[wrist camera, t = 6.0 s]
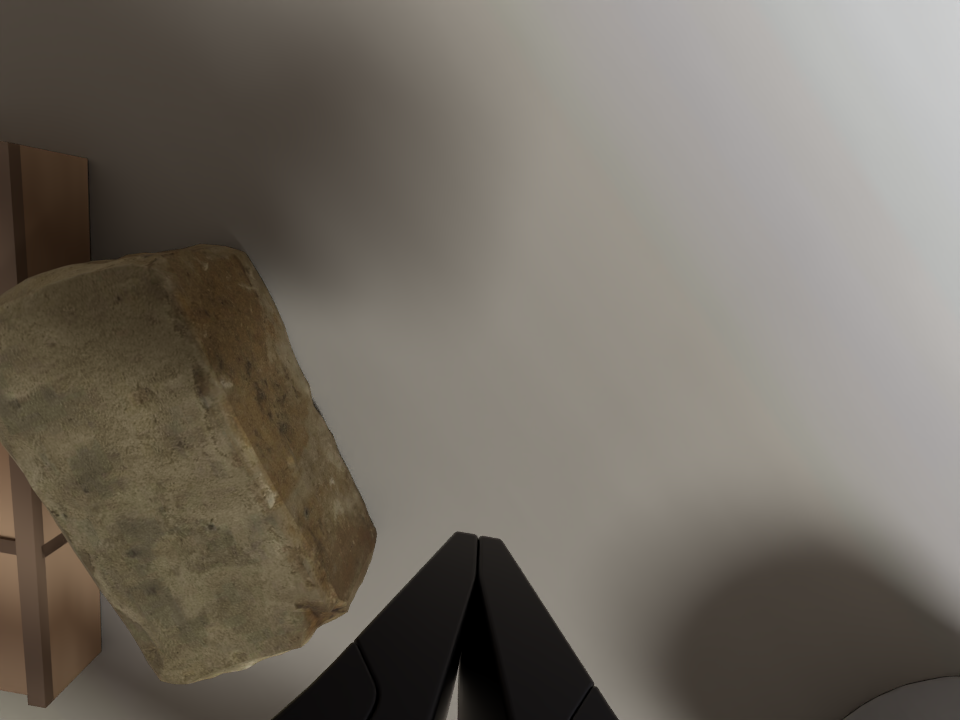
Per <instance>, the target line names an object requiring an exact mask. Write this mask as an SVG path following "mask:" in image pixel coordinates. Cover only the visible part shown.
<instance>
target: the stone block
mask: <svg viewBox="0 0 960 720" xmlns="http://www.w3.org/2000/svg"><path fill="white" fill-rule="evenodd" d="M0 442H1V444H2V445H3V446H4V448H5V449H6V450H7V452H8V453H9V454H10V456H11V457H12V458H13V460H14V461H15V462H16V464H17V465H18V466H19V468H20V469H21V470H22V472H23V473H24V474H25V476H26V478H27V480H28V482H29V483H30V485H31V487H32V489H33V490H34V491H35V493H36V494H37V496H38V497H39V498H40V500H41V501H42V503H43V504H44V505H45V507H46V508H47V510H48V511H49V513H50V515H51V516H52V518H53V519H54V521H55V523H56V524H57V526H58V527H59V529H60V530H61V532H62V534H63V535H64V537H65V538H66V540H67V542H68V543H69V545H70V546H71V548H72V549H73V551H74V552H75V554H76V555H77V557H78V558H79V560H80V561H81V563H82V564H83V566H84V567H85V569H86V570H87V572H88V573H89V575H90V576H91V578H92V579H93V581H94V582H95V584H96V585H97V587H98V588H99V590H100V591H101V592H102V594H103V595H104V596H105V597H106V599H107V600H108V601H109V603H110V604H111V605H112V607H113V608H114V609H115V611H116V612H117V614H118V615H119V617H120V618H121V620H122V621H123V622H124V624H125V625H126V627H127V628H128V630H129V631H130V633H131V634H132V636H133V637H134V639H135V641H136V642H137V644H138V646H139V647H140V649H141V651H142V653H143V655H144V656H145V658H146V660H147V662H148V664H149V665H150V666H151V668H152V669H153V671H154V672H155V674H156V675H157V676H158V678H159V679H160V681H163V682H167V683H171V684H190V683H193V682H197V681H201V680H205V679H210V678H214V677H216V676H218V675H220V674H223V673H228V672H235V671H240V670H245V669H248V668H249V667H251V666H252V665H254V664H256V663H257V662H259V661H261V660H264V659H266V658H269V657H272V656H277V655H281V654H283V653H285V652H288V651H290V650H293V649H297V648H300V647H302V646H303V645H304V644H306V643H307V642H308V641H309V640H310V638H311V637H312V635H313V633H314V632H315V630H316V629H317V628H318V627H320V626H322V625H323V624H325V623H328V622H330V621H332V620H334V619H336V618H338V617H340V616H341V615H343V614H345V613H347V612H348V609H349V606H350V604H351V602H352V600H353V599H354V597H355V594H356V592H357V590H358V588H359V586H360V585H361V583H362V582H363V579H364V577H365V575H366V572H367V569H368V566H369V564H370V562H371V559H372V555H373V551H374V548H375V543H376V537H377V532H376V528H375V527H374V525H373V523H372V522H371V520H370V517H369V514H368V511H367V508H366V506H365V503H364V501H363V499H362V497H361V495H360V493H359V491H358V490H357V488H356V486H355V483H354V481H353V479H352V477H351V475H350V473H349V470H348V469H347V467H346V465H345V463H344V461H343V460H342V458H341V456H340V454H339V451H338V448H337V445H336V442H335V439H334V436H333V435H332V434H331V432H330V431H329V430H328V428H327V426H326V423H325V421H324V420H323V418H322V417H321V415H320V414H319V412H318V411H317V409H316V408H315V406H314V405H313V401H312V396H311V391H310V386H309V383H308V382H307V380H306V379H305V377H304V375H303V373H302V371H301V369H300V367H299V365H298V363H297V360H296V358H295V356H294V353H293V351H292V348H291V345H290V342H289V339H288V336H287V332H286V329H285V326H284V324H283V322H282V319H281V317H280V315H279V312H278V310H277V308H276V306H275V304H274V302H273V300H272V298H271V296H270V294H269V292H268V290H267V288H266V286H265V284H264V283H263V281H262V279H261V278H260V276H259V274H258V273H257V271H256V269H255V268H254V266H253V264H252V263H251V261H250V259H249V258H248V256H247V254H246V253H245V252H243V251H240V250H237V249H234V248H231V247H227V246H219V245H208V244H198V245H194V246H191V247H187V248H184V249H177V250H169V251H163V252H157V253H137V254H129V255H125V256H123V257H121V258H119V259H111V260H97V261H90V262H86V263H79V264H72V265H67V266H63V267H60V268H57V269H53V270H50V271H47V272H44V273H40V274H38V275H35V276H32V277H30V278H27V279H25V280H24V281H22V282H21V283H19V284H17V285H16V286H14V287H13V288H11V289H9V290H8V291H6V292H4V293H3V294H2V295H0Z"/></svg>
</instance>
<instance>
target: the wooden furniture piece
mask: <svg viewBox="0 0 960 720" xmlns="http://www.w3.org/2000/svg"><path fill="white" fill-rule="evenodd" d="M86 262H90V233H89V198H88V163H87V159H86V158H82V157H77V156H72V155H67V154H62V153H58V152H53V151H48V150H43V149H38V148H33V147H29V146H24V145H19V144H14V143H9V142H4V141H0V295H2V294H3V293H4V292H6V291H8V290H9V289H11V288H13V287H14V286H16V285H17V284H19V283H21V282H22V281H24V280H25V279H27V278H30V277H32V276H35V275H38V274H40V273H44V272H47V271H50V270H53V269H57V268H60V267H63V266H67V265H72V264H79V263H86ZM100 652H101V617H100V590H99V588H98V587H97V585H96V584H95V582H94V581H93V579H92V578H91V576H90V575H89V573H88V572H87V570H86V569H85V567H84V566H83V564H82V563H81V561H80V560H79V558H78V557H77V555H76V554H75V552H74V551H73V549H72V548H71V546H70V545H69V543H68V542H67V540H66V538H65V537H64V535H63V534H62V532H61V530H60V529H59V527H58V526H57V524H56V523H55V521H54V519H53V518H52V516H51V515H50V513H49V511H48V510H47V508H46V507H45V505H44V504H43V503H42V501H41V500H40V498H39V497H38V496H37V494H36V493H35V491H34V490H33V489H32V487H31V485H30V483H29V482H28V480H27V478H26V476H25V474H24V473H23V472H22V470H21V469H20V468H19V466H18V465H17V464H16V462H15V461H14V460H13V458H12V457H11V456H10V454H9V453H8V452H7V450H6V449H5V448H4V446H3V445H2V444H1V442H0V690H3V691H8V692H14V693H19V694H25V695H27V696H28V705H32V706H37V707H43V708H46V707H47V706H48V705H49V704H50V703H51V702H52V701H53V700H54V699H55V698H56V697H57V696H58V695H59V694H60V693H61V692H62V691H63V690H64V689H65V688H66V687H67V686H68V685H69V684H70V683H71V682H72V681H73V680H74V679H75V678H76V677H77V676H78V675H79V674H80V673H81V671H82V670H83V669H84V668H85V667H86V666H87V665H88V664H89V663H90V662H91V661H92V660H93V659H94V658H95V657H96V656H97V655H98V654H99V653H100Z"/></svg>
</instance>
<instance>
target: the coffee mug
mask: <svg viewBox="0 0 960 720" xmlns="http://www.w3.org/2000/svg"><path fill="white" fill-rule="evenodd" d="M843 720H960V676H959V677H942V678H937V679H932V680H927V681H922V682H918V683H913V684H909V685H905V686H902V687H899V688H896V689H894V690H892V691H890V692H888V693H885V694H883V695H881V696H879V697H877V698H875V699H873V700H871V701H869V702H867V703H865V704H864V705H862V706H861V707H860V708H858V709H857V710H855V711H854V712H853V713H851V714H850V715H848V716H847V717H846V718H844V719H843Z"/></svg>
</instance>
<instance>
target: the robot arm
mask: <svg viewBox="0 0 960 720" xmlns="http://www.w3.org/2000/svg"><path fill="white" fill-rule="evenodd" d="M459 662H460V663H459ZM458 666H459V675H458V720H619V719H618V718H617V717H616V715H615V714H614V712H613V711H612V709H611V708H610V706H609V705H608V703H607V702H606V700H605V698H604V697H603V695H602V694H601V692H600V691H599V689H598V688H597V687H596V686H594V682H593V680H592V679H591V677H590V676H589V674H588V673H587V671H586V669H585V668H584V666H583V665H582V663H581V662H580V660H579V659H578V657H577V656H576V654H575V652H574V651H573V649H572V648H571V646H570V645H569V643H568V642H567V640H566V639H565V637H564V635H563V634H562V632H561V631H560V629H559V628H558V626H557V625H556V623H555V622H554V620H553V618H552V617H551V615H550V614H549V612H548V611H547V609H546V608H545V606H544V605H543V603H542V601H541V600H540V598H539V597H538V595H537V594H536V592H535V591H534V589H533V588H532V586H531V584H530V583H529V581H528V580H527V578H526V577H525V575H524V574H523V572H522V571H521V569H520V567H519V566H518V564H517V563H516V561H515V560H514V558H513V557H512V555H511V554H510V552H509V550H508V549H507V547H506V546H505V544H504V543H503V541H502V540H500V539H498V538H492V537H486V536H480V537H479V539H478V537H477V536H476V535H475V534H470V533H464V532H455V533H454V534H453V535H452V536H451V537H450V538H449V539H448V541H447V542H446V543H445V544H444V545H443V546H442V547H441V548H440V549H439V550H438V551H437V552H436V553H435V554H434V556H433V557H432V558H431V559H430V560H429V561H428V562H427V563H426V564H425V565H424V566H423V567H422V568H421V569H420V570H419V572H418V573H417V574H416V575H415V576H414V577H413V578H412V579H411V580H410V581H409V582H408V583H407V584H406V585H405V586H404V588H403V589H402V590H401V591H400V592H399V593H398V594H397V595H396V596H395V597H394V598H393V599H392V600H391V601H390V603H389V604H388V605H387V606H386V607H385V608H384V609H383V610H382V611H381V612H380V613H379V614H378V615H377V616H376V617H375V619H374V620H373V621H372V622H371V623H370V624H369V625H368V626H367V627H366V628H365V629H364V630H363V631H362V632H361V634H360V635H359V636H358V637H357V638H356V639H355V640H354V643H351V644H350V645H349V646H348V647H347V648H346V649H345V650H344V651H343V652H342V653H341V655H340V656H339V657H338V658H337V659H336V660H335V661H334V662H333V663H332V664H331V665H330V666H329V667H328V668H327V669H326V670H325V671H324V672H323V673H322V674H321V675H320V676H319V677H318V678H317V679H316V680H315V681H314V682H313V683H312V684H311V685H310V686H309V687H308V688H307V689H305V690H304V691H303V692H302V693H301V694H300V695H299V696H298V697H296V698H295V699H294V700H293V701H292V702H291V703H290V704H288V705H287V706H286V707H285V708H284V709H283V710H282V711H281V712H279V713H278V714H277V715H276V716H275V717H274V718H272V719H271V720H446V718H447V714H448V710H449V706H450V702H451V698H452V694H453V690H454V685H455V681H456V676H457V671H458Z"/></svg>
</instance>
